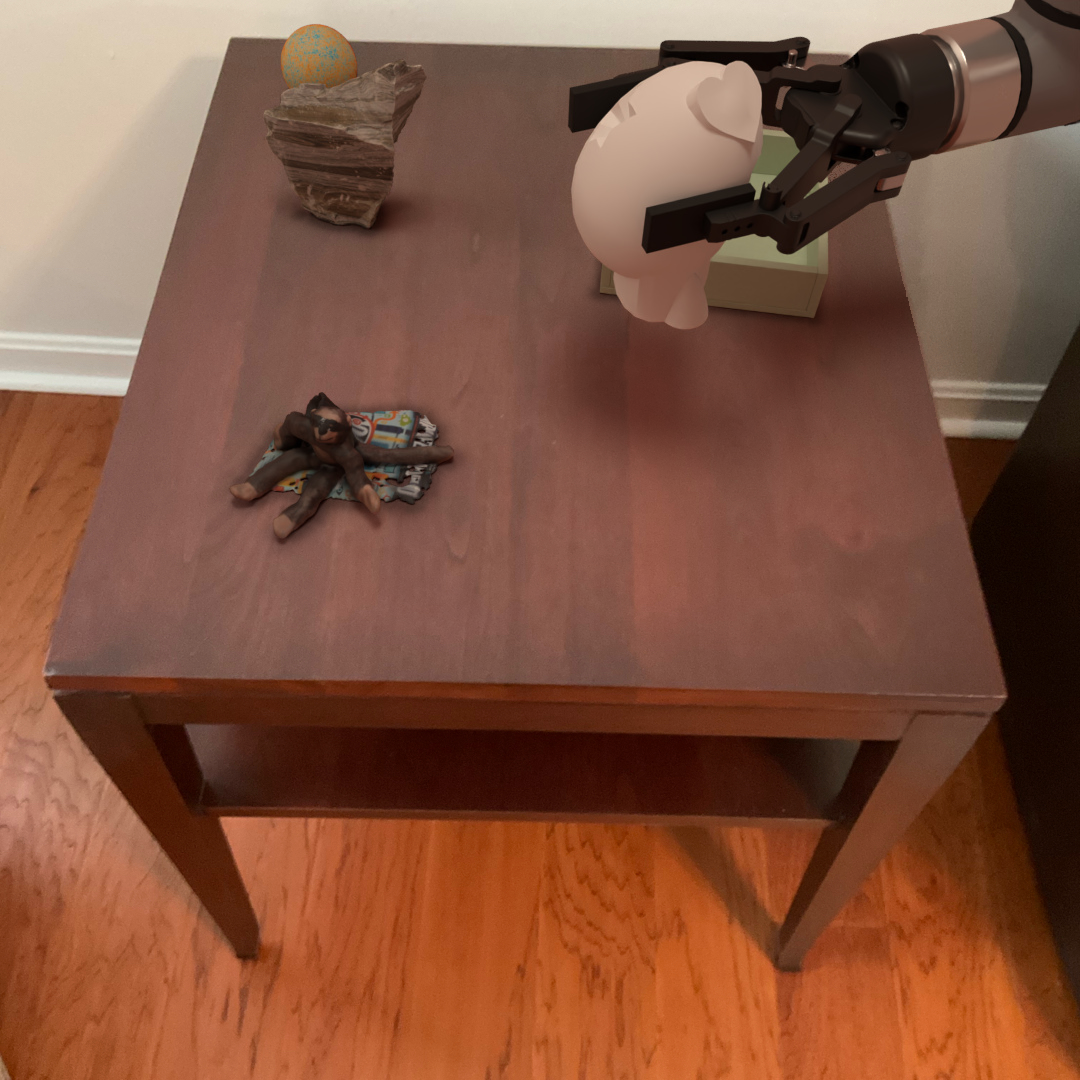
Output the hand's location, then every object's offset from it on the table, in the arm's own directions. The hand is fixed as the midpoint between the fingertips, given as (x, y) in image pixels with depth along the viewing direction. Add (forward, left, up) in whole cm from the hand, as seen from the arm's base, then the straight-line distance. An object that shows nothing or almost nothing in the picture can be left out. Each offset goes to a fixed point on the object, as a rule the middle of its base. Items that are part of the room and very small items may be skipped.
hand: (606, 168), depth 61 cm
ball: (+30, -33, -21) cm, 49 cm away
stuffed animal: (+17, +10, -21) cm, 28 cm away
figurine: (-3, -2, -9) cm, 10 cm away
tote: (-8, -20, -21) cm, 30 cm away
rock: (+23, -18, -21) cm, 36 cm away
